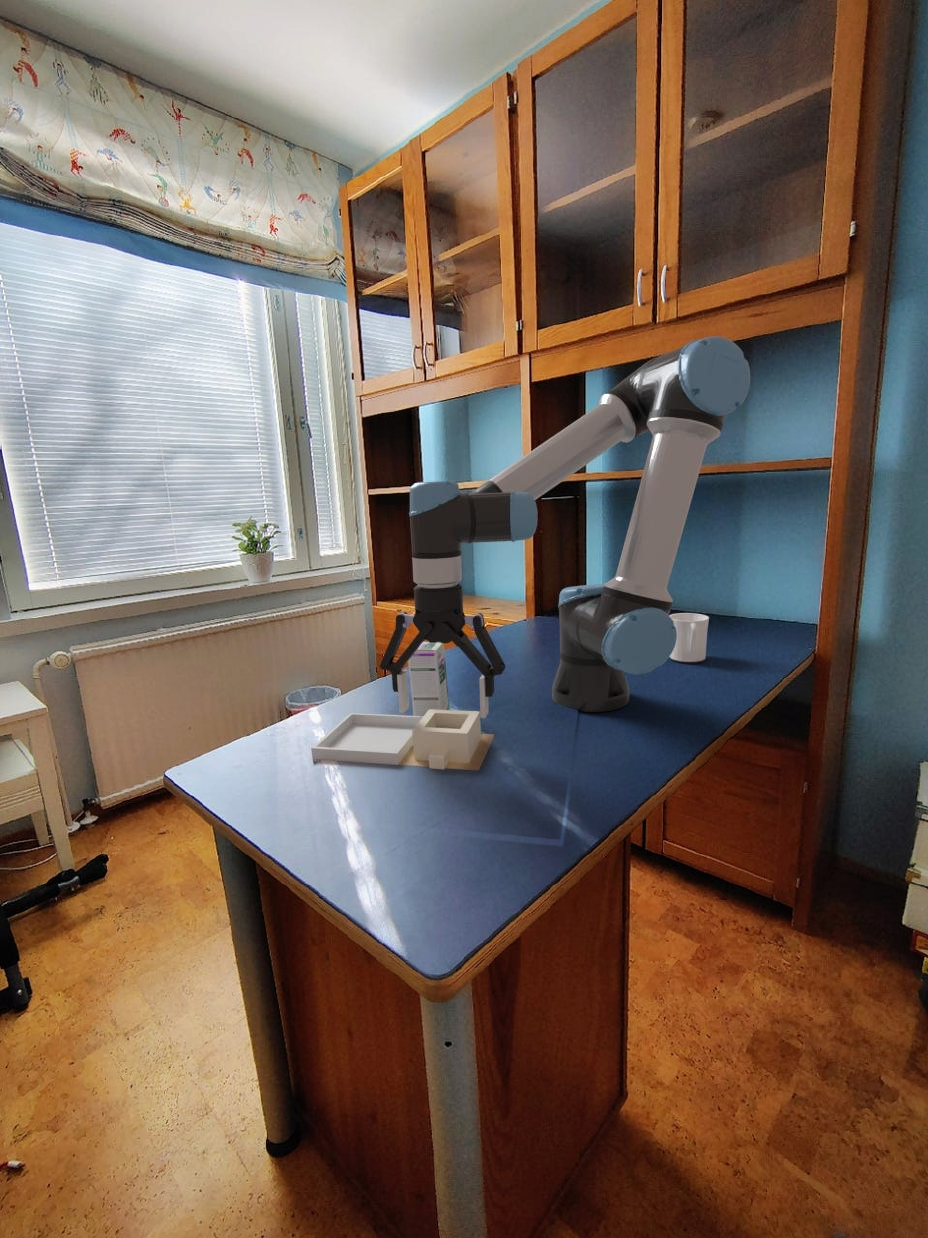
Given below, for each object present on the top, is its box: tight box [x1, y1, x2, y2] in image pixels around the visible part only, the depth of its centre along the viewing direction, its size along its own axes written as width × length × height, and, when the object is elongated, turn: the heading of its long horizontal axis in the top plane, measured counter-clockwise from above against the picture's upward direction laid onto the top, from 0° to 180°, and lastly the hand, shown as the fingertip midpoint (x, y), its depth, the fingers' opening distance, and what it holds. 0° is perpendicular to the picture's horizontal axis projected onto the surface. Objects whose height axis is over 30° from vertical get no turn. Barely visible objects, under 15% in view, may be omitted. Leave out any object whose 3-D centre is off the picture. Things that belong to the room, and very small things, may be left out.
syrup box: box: [407, 641, 450, 716], centre depth 108 cm, size 6×6×14 cm
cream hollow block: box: [412, 709, 482, 770], centre depth 93 cm, size 9×12×5 cm
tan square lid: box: [398, 728, 496, 771], centre depth 95 cm, size 13×13×4 cm
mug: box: [668, 612, 710, 665], centre depth 134 cm, size 11×9×10 cm
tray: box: [311, 712, 423, 766], centre depth 99 cm, size 15×15×2 cm
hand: (443, 712), depth 93 cm, fingers open, 13 cm apart
